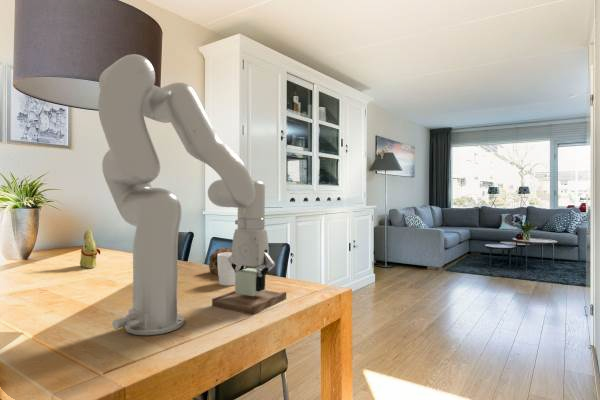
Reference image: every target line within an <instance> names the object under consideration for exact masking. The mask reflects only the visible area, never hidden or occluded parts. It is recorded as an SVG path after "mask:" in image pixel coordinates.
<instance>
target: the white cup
mask: <svg viewBox="0 0 600 400" xmlns="http://www.w3.org/2000/svg"><path fill="white" fill-rule="evenodd" d="M231 255H232V252H224V253H219V254H217V261H218V274H217V275H218V285H220V286H224V287H225V286H226V287H228V286H235V272H234V271H235V270H234V269H233V268H232V265H231V264H230V263H229V261H228V258H229V257H230V256H231Z"/></svg>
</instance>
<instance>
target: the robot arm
mask: <svg viewBox="0 0 600 400" xmlns="http://www.w3.org/2000/svg"><path fill="white" fill-rule="evenodd" d="M155 83H156V72H155V67H154V66H153V64H152V63H151V61H150V60H149V59H148V58H147V57H145V56H143V55H141V54H136V53H133V54H127V55H124V56H123V57H121V58H119V59H118V60H116V61H114V62H113V63H112V64H111V65H109V66H108V67H106V68H105V70H104V69H103V72H101V73H100V76H99V79H98V87H99V89H100V90H99V91H100V92H99V95H98V102H97V103H98V104H97V109H98V110H97V111H98V119H99V121H100V125H101V127H102V131H103V133H104V136H105V140H106V142H107V145H108V148H109V150H107V152H105V154H104V156H103V158H102V164H101V168H102V173H103V177H104V179H105V182H106V184H107V187H108V189H109V193H110V194H111V197H112V199H113V201H114V203H115V206H116V208H117V211H118V212H119V214H120V216H121V218H123V220H124V221H125V222H126V223H127V224H129V225H131V226H133V227H136V229H135V233H134V238H133V243H132V244H133V245H132V308H131V309H128V314H126V315H125V317H120V318H117V319H114V320H113V321H112V327H113V329H114V330H117V329H121V328H124V330H125V331H126V332H127V333H128V334H131V335H137V336H155V335H162V334H166V333H169V332H173V331H175V330H178V329H180V328H181V327H182V326H184V324H185V317H184V316H183V315H182V314H180V313H178V259H179V258H178V253H179V252H178V245H179V244H178V243H179V232H180V225H181V221H182V205H181V201H180V199H179V198H178V197H177V195H176V194H175V193H173V192H172V191H171V190H168V189H166V188H161V187H153V185H152V184H151V182H154V181H155V180H156V179H157V178H158V176H159V175H160V172H161V163H160V159H159V156H158V154H157V151H156V149H155V146H154V143H153V141H152V138H151V135H150V132H149V130H148V126H147V123H146V120H145V118H147V119H150V120H152V121H156V122H159V123H163V124H169V123H171V125H172V127H173V129H174V130H175V132H176V134H177V136H178V138H179V140H180V141H181V143H182V145H183V147H184V149H185V151H186V153H188V154H189V155H190V156H191V157H193V158H195V159H196V160H198V161H199V162H202V163H204V164H206V165H208V166H209V167H210V168H212V169H213V170H214V171H215V173H216V174H217V175H218V176H219V177H220V179H218V180H214V181H213V182H212V183H211V184H210V185H209V187H208V189H207V197H208V199H209V201H210V202H211V203H212V204H213V205H214V206H217V207H221V208H237V219H236V220H235V221H234V224H235V225H237V228H236V229H234V232H233V238H232V243H231V244H232V245H231V248H232V255H231V256H230V257H229V258H228V261H229V263H230V264H231V265H232V268H233V269H234V270H235V271H234V272H236V271H239V270H243V269H244V268H245V266H249V267H256V270H257V274H258V277H257V278H256V291H261V290H264V287H265V288H266V276H267V275H268V273H270V272H271V270H272V269H273V268H274V267H275V266H276V263H275V261H274V260H273V259H272V258H271V256H270V252H269V251H270V247H269V238H268V232H267V229H266V228H265V227H266V226H265V223H266V221H265V220H266V219H265V212H266V209H265V207H266V206H265V205H266V185H265V183H264V182H263V181H261V180H253V179H252V177H251V175H250V173H249V171H248V169H247V167H246V165H245V163H244V161H242V159H241V158H240V157H239V156H238V155H237V154H236V153H235V152H234V151H233V150H232V149H231V148H230V147H229V146H228V145H227V144H226V143H225V142H224V141H222V140H221V139H220V137H219V136H218V134H217V133H216V130H215V128H214V126H213V124H212V122H211V121H210V118H209V117H208V116H209V115H207V112H206V110H205V109H204V107H203V104H202V102H201V101H200V98H199V97H198V95H197V93H196V91H195V90H194V89H193V87H192V86H190V85H189V84H187V83H185V82H174V83H173V82H172V83H171V84H167V85H166V86H165V85H164V86H163V87H160V86H157V85H155ZM261 270H262V271H261Z"/></svg>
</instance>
